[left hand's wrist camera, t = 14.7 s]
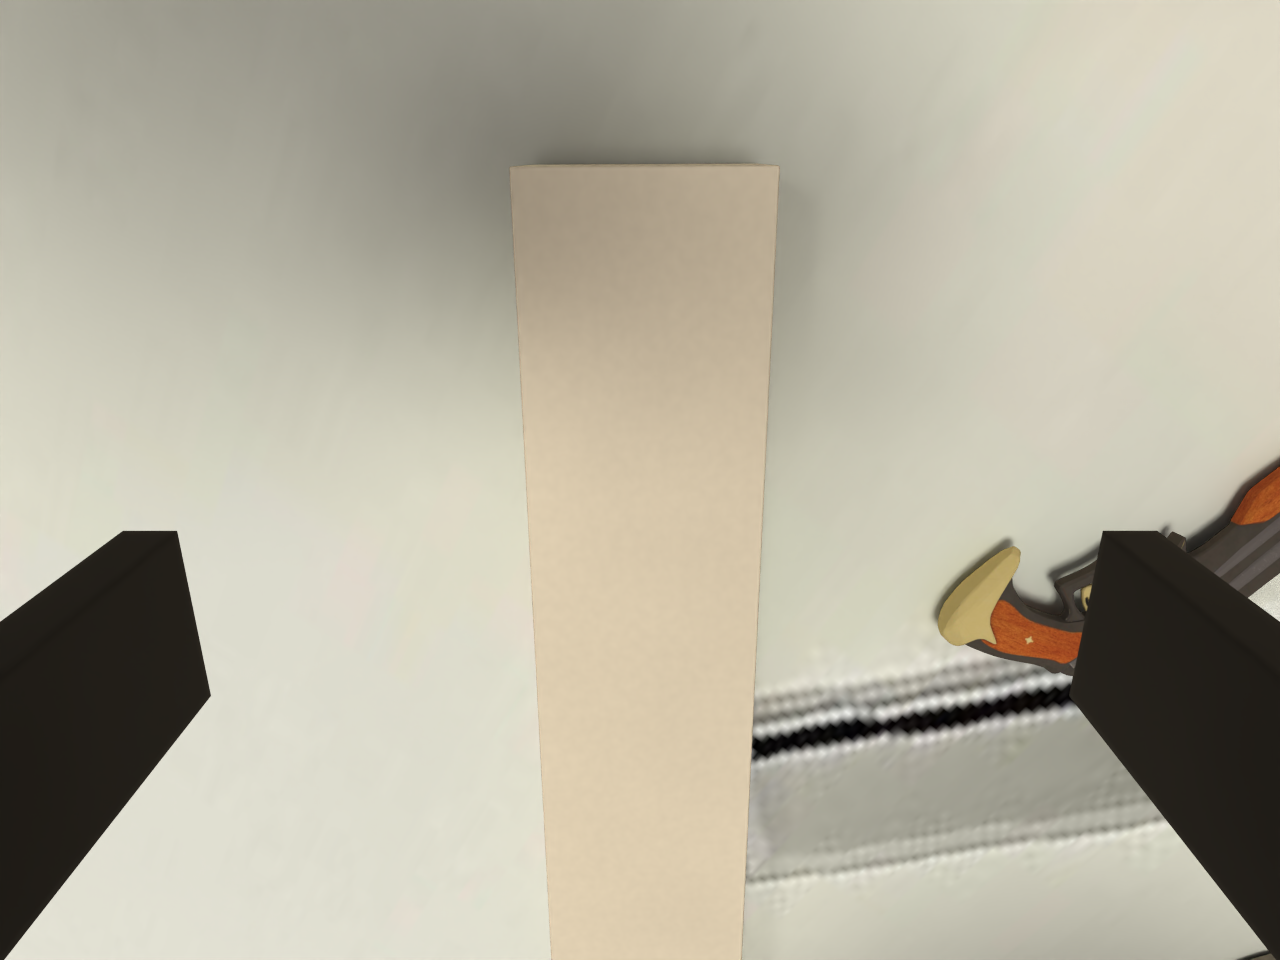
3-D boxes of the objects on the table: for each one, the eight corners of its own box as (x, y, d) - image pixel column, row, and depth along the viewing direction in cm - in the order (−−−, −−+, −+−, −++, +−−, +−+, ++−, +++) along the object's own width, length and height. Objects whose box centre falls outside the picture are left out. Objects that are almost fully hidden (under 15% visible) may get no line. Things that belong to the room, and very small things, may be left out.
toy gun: (934, 630, 40) (1072, 771, 42) (1281, 337, 37) (1420, 501, 38) (918, 608, 43) (1048, 742, 44) (1240, 333, 40) (1372, 487, 41)
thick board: (532, 164, 36) (509, 166, 30) (757, 163, 36) (779, 165, 30) (574, 1111, 56) (565, 1230, 49) (719, 1111, 55) (728, 1231, 49)
